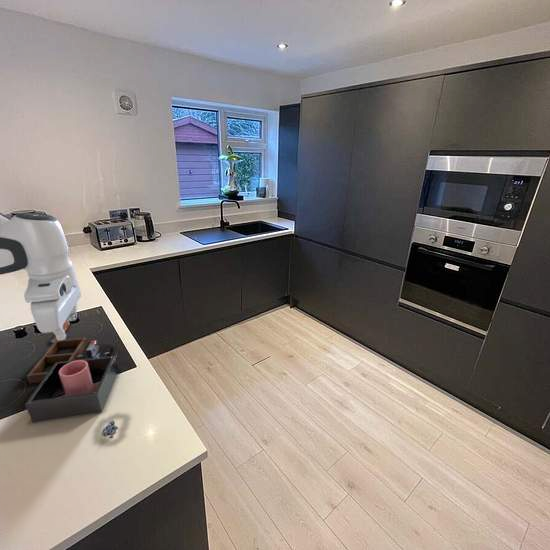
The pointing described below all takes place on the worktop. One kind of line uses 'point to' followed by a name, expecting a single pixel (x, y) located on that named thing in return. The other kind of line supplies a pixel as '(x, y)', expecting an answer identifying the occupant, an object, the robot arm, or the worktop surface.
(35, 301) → the robot arm
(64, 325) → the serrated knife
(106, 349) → the tap panel
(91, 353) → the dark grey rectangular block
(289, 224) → the worktop surface
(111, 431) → the blueberries
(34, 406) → the dark grey open box
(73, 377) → the cup
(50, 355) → the wooden divided tray
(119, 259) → the worktop surface
